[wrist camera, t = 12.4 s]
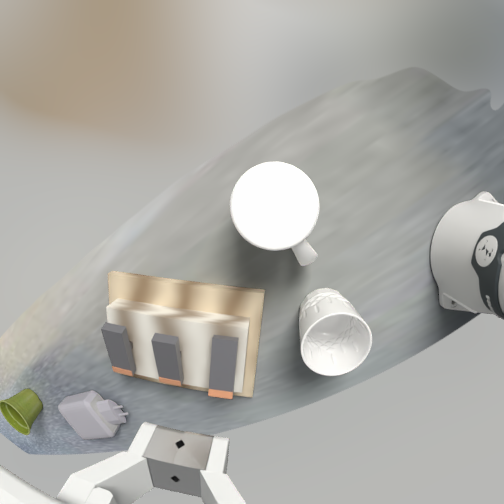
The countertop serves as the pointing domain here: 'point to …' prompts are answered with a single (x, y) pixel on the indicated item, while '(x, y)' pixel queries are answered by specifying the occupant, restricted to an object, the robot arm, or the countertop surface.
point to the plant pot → (21, 410)
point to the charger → (92, 415)
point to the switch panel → (196, 302)
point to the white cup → (332, 333)
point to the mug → (276, 209)
